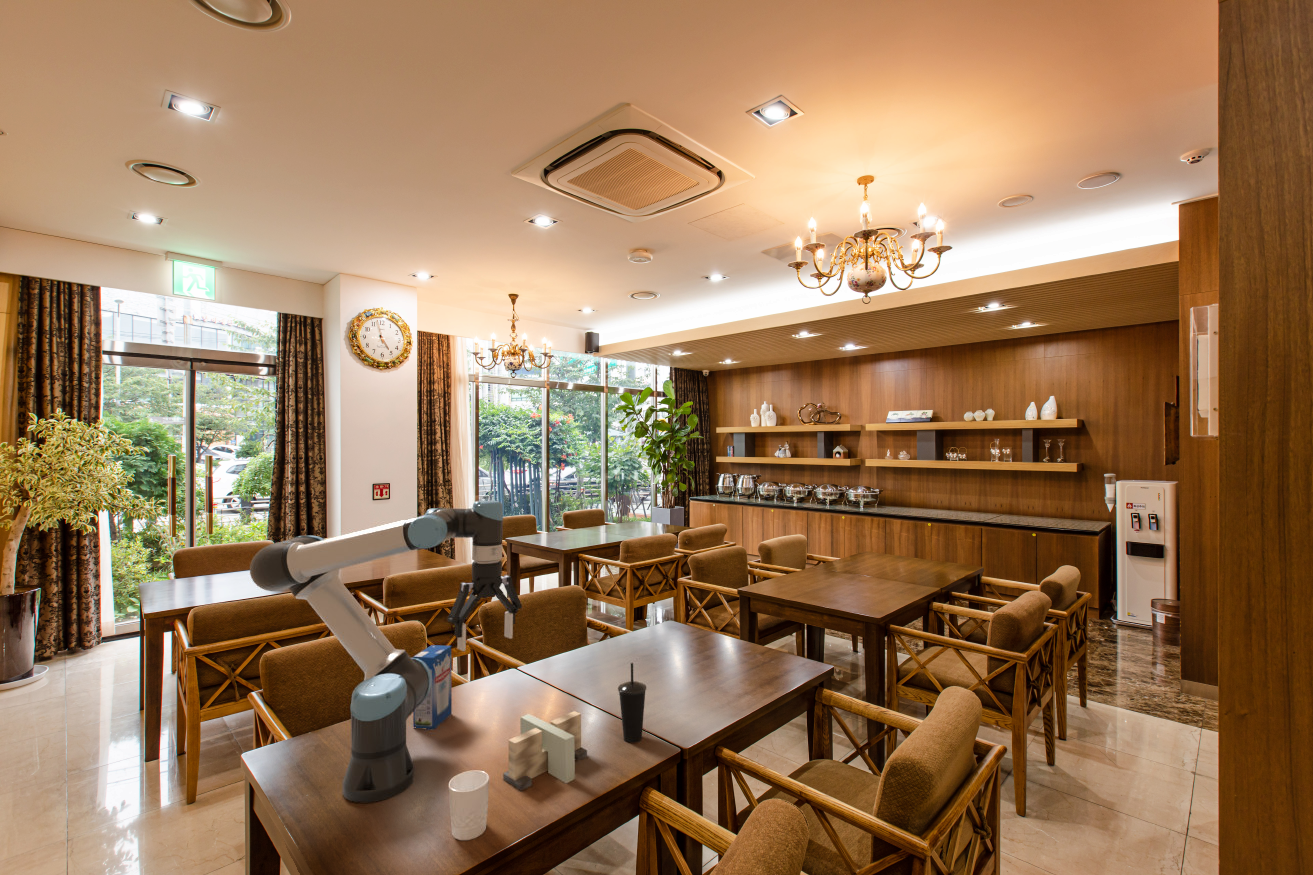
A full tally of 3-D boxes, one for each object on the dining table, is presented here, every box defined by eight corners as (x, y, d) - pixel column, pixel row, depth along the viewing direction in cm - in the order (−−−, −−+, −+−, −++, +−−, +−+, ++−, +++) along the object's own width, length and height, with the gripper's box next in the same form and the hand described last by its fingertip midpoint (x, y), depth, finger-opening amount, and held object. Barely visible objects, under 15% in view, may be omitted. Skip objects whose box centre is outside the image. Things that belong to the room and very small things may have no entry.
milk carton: (433, 729, 163) (433, 657, 164) (413, 728, 164) (413, 656, 165) (451, 713, 173) (451, 645, 173) (432, 712, 174) (432, 644, 174)
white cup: (475, 813, 125) (474, 765, 126) (497, 827, 120) (496, 778, 121) (441, 831, 119) (440, 782, 119) (462, 848, 114) (462, 796, 114)
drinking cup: (621, 747, 152) (621, 669, 153) (615, 733, 160) (615, 659, 160) (650, 743, 154) (649, 666, 155) (643, 729, 162) (642, 656, 162)
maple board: (520, 790, 133) (520, 746, 134) (503, 779, 138) (502, 736, 138) (587, 755, 148) (586, 716, 148) (569, 746, 153) (568, 708, 153)
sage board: (520, 756, 148) (520, 716, 148) (528, 752, 150) (528, 713, 150) (566, 783, 136) (566, 739, 136) (574, 778, 138) (574, 735, 138)
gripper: (449, 569, 140) (447, 658, 140) (535, 556, 158) (534, 635, 158) (434, 565, 145) (432, 651, 145) (519, 552, 164) (518, 629, 163)
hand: (485, 643), depth 151 cm, fingers open, 13 cm apart
